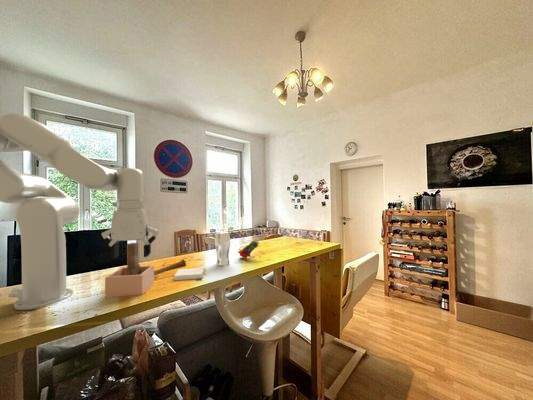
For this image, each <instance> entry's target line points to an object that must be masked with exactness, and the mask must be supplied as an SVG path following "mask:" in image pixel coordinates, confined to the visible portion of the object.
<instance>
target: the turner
mask: <svg viewBox="0 0 533 400" xmlns="http://www.w3.org/2000/svg"><path fill="white" fill-rule="evenodd" d="M139 255H140V254H139V242H130V243H127V244H126V267H127V270H126V275H140V266H141V263H140V262H139V261H140V260H139V258H140V257H139Z"/></svg>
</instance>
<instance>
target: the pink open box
mask: <svg viewBox="0 0 533 400" xmlns="http://www.w3.org/2000/svg"><path fill="white" fill-rule="evenodd" d="M126 270H127V266H123V267H122V266H121V267H119V268H118V269H117V270H114V271H113V272H112V273H110V274H108V275H107V276H105V277H104V292H105V293H104V295H105V298H113V297H127V296H128V297H129V296H140V295H143V294H144V293H146V291H147V290H149V288H150V287H151V286H152V285H153V284H154V283H155V275H154V271H155V265H140V275H126Z"/></svg>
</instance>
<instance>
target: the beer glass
mask: <svg viewBox="0 0 533 400" xmlns="http://www.w3.org/2000/svg"><path fill="white" fill-rule="evenodd" d="M230 235H231V234H230V231H226V230H225V231H224V230H223V231H222V230H220V231H216V232H214V246H215V247H214V249H215V251H216V261H215V262H216V263H215V264H216V265H217V266H221V267H222V266H229V265H230V258H229V255H230V253H229V252H230V248H231V236H230Z"/></svg>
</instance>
